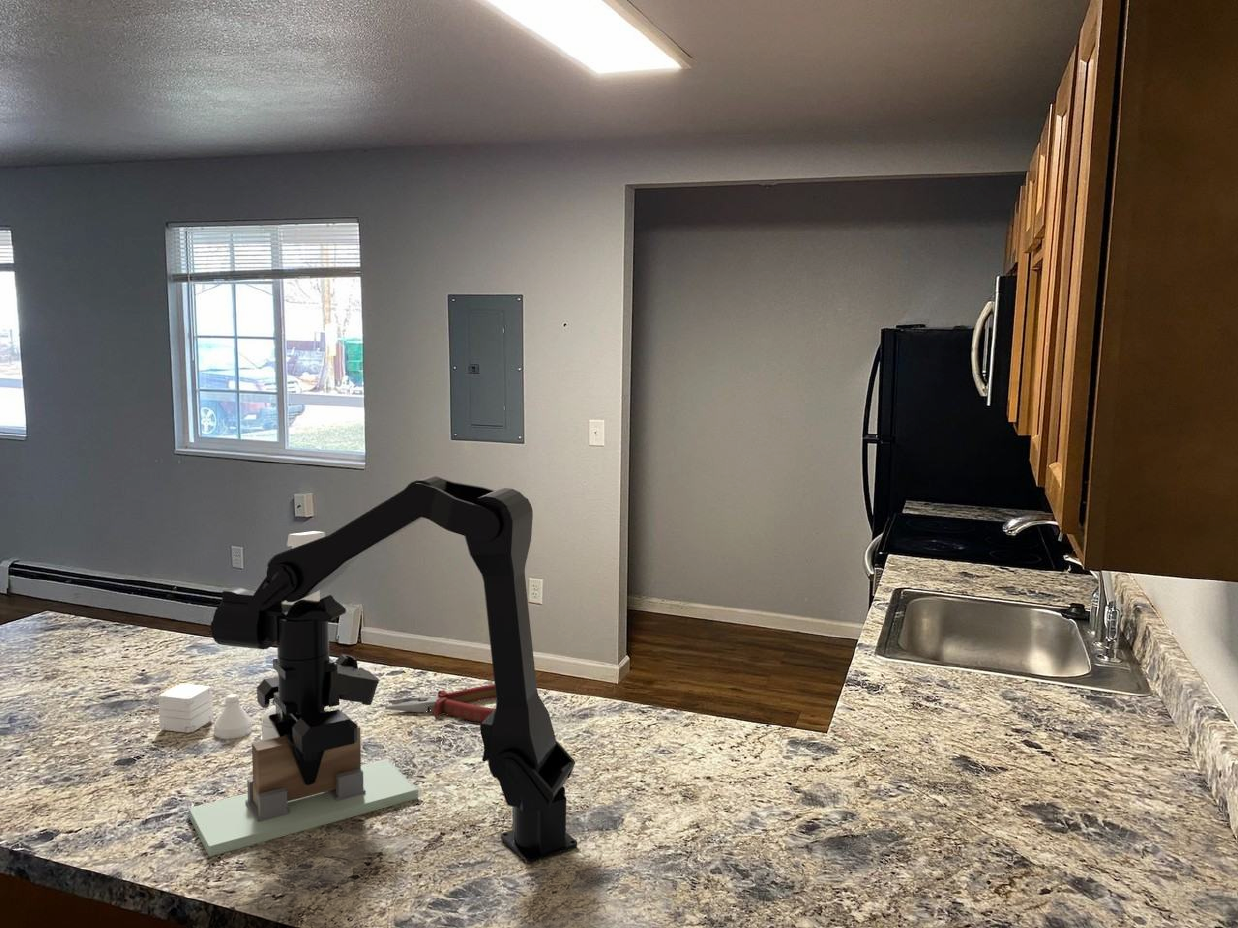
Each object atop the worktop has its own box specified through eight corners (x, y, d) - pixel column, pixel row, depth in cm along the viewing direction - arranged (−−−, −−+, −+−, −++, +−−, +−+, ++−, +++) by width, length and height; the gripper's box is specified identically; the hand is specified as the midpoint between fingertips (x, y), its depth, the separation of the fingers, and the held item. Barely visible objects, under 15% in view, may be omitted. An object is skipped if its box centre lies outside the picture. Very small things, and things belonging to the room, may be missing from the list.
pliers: (393, 697, 149) (393, 681, 149) (521, 697, 151) (522, 681, 150) (380, 728, 138) (379, 711, 138) (519, 727, 139) (519, 710, 139)
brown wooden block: (360, 782, 116) (360, 727, 115) (259, 808, 109) (257, 750, 108) (353, 774, 118) (353, 720, 117) (253, 800, 111) (251, 742, 110)
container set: (159, 732, 134) (157, 695, 133) (183, 718, 139) (182, 682, 138) (287, 748, 130) (286, 710, 129) (307, 733, 135) (306, 696, 134)
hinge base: (418, 798, 116) (417, 766, 116) (209, 856, 102) (208, 820, 102) (386, 767, 124) (386, 737, 124) (189, 817, 110) (187, 784, 110)
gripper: (400, 663, 108) (401, 792, 110) (343, 621, 123) (345, 736, 125) (302, 681, 101) (305, 819, 103) (254, 635, 116) (257, 756, 119)
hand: (306, 779), depth 113 cm, fingers closed on brown wooden block, 2 cm apart
